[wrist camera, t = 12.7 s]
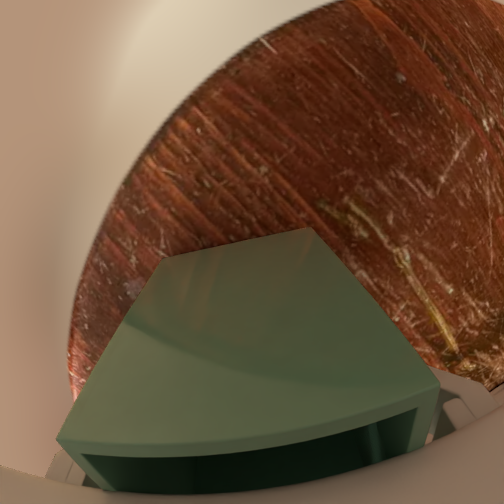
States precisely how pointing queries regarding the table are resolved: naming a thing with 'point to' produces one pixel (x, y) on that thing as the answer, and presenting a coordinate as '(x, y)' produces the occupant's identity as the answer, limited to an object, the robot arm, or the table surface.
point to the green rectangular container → (249, 376)
